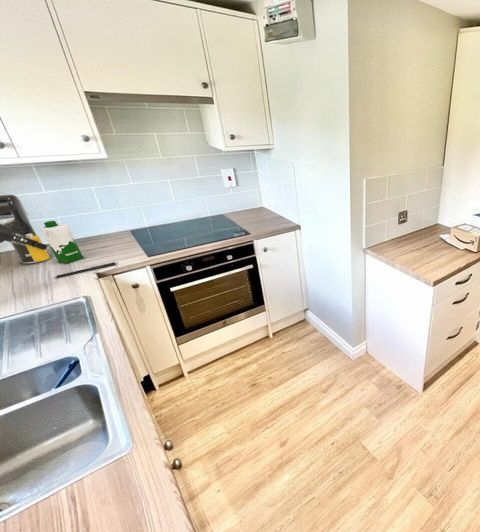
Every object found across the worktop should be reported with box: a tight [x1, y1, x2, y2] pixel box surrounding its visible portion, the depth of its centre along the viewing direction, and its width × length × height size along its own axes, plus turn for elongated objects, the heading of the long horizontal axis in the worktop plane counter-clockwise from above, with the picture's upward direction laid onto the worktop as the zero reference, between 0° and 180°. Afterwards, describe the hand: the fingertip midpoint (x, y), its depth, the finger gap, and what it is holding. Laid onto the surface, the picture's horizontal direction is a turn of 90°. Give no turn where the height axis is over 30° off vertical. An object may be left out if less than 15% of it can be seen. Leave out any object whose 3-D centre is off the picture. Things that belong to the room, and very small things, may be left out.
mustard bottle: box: [25, 234, 51, 262], centre depth 136 cm, size 5×5×12 cm
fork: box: [56, 261, 116, 279], centre depth 155 cm, size 3×21×1 cm, turn 133°
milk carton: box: [39, 220, 84, 264], centre depth 160 cm, size 9×9×20 cm
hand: (41, 246), depth 138 cm, fingers closed on mustard bottle, 4 cm apart
